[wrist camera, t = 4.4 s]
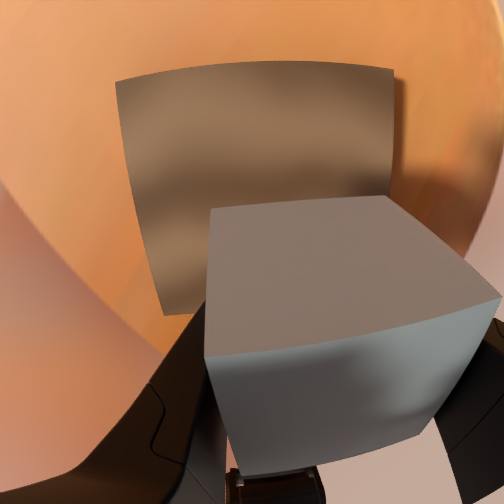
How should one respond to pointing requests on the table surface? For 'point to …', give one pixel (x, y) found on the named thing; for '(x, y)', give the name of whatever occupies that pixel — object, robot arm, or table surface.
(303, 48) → the table surface
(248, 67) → the walnut base
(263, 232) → the slate block
